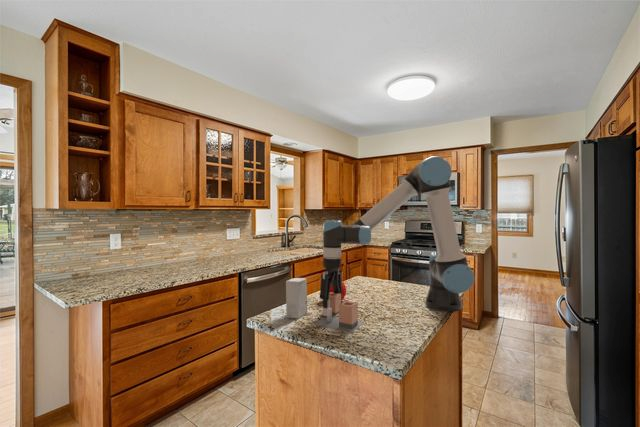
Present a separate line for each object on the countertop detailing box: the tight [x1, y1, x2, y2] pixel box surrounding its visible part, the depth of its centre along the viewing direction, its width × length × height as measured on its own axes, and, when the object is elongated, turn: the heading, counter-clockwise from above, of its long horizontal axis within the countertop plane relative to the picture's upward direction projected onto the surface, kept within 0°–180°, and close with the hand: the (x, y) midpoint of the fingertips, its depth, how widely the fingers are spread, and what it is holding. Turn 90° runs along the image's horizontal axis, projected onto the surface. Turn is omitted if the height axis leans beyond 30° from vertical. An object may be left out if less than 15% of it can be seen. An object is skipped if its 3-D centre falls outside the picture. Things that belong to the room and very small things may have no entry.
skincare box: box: [285, 277, 308, 320], centre depth 127 cm, size 8×6×15 cm
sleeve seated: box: [338, 300, 359, 329], centre depth 114 cm, size 5×5×8 cm
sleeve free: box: [329, 292, 342, 316], centre depth 128 cm, size 5×5×8 cm
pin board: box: [313, 308, 365, 334], centre depth 116 cm, size 16×11×6 cm
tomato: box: [330, 281, 347, 301], centre depth 146 cm, size 12×12×10 cm
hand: (331, 312), depth 127 cm, fingers open, 8 cm apart
